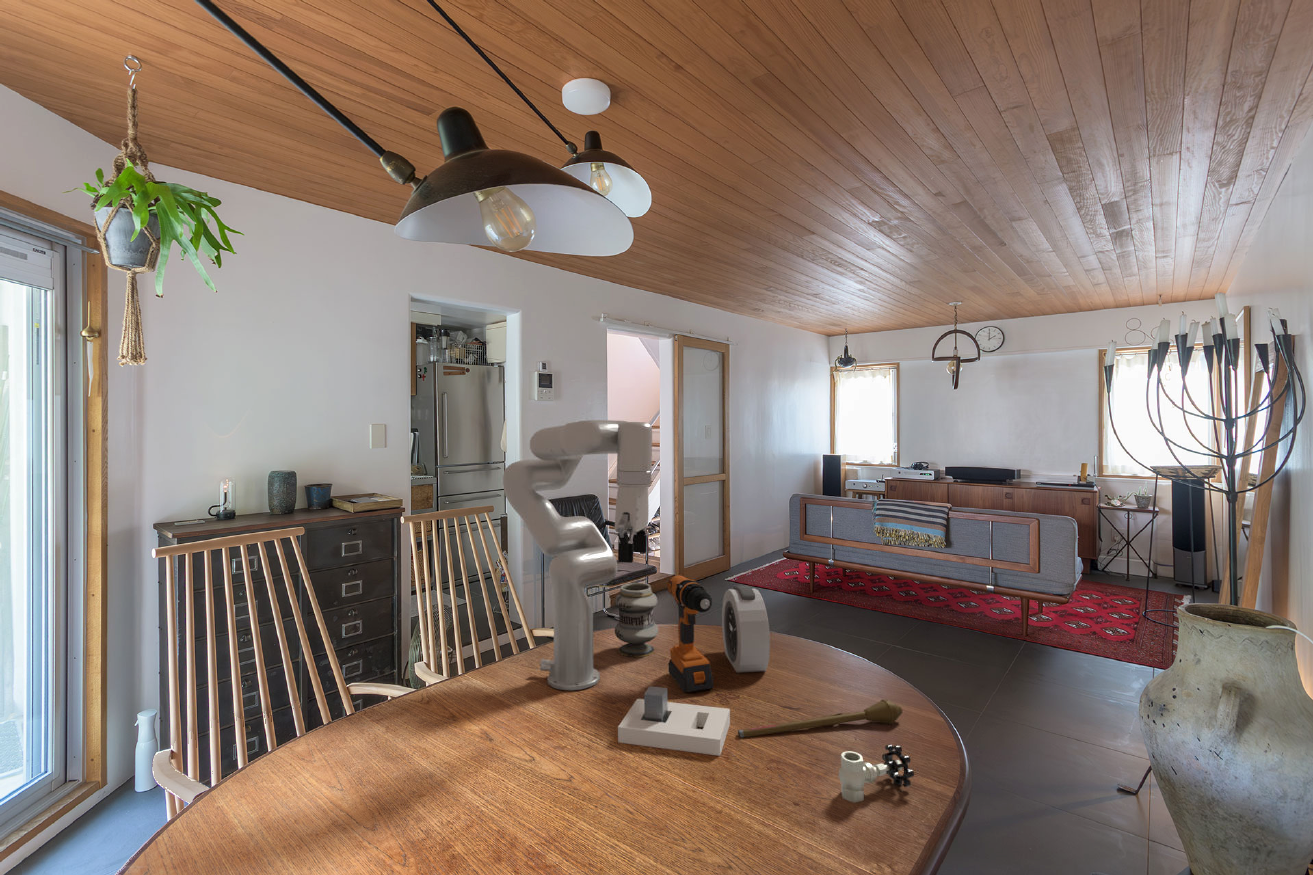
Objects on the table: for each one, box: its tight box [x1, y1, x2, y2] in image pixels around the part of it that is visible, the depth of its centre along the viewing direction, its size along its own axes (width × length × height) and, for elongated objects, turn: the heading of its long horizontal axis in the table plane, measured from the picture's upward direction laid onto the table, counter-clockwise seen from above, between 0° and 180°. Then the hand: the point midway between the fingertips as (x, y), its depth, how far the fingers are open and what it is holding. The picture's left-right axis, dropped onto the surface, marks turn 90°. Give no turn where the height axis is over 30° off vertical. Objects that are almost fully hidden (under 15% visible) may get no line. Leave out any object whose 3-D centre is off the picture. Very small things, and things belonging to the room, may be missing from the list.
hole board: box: [617, 698, 731, 757], centre depth 121 cm, size 20×13×3 cm, turn 75°
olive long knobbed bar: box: [737, 699, 903, 739], centre depth 122 cm, size 5×35×5 cm
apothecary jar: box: [614, 582, 659, 658], centre depth 167 cm, size 12×12×18 cm
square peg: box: [643, 685, 668, 723], centre depth 122 cm, size 4×4×8 cm
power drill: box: [667, 574, 714, 693], centre depth 143 cm, size 22×7×25 cm, turn 16°
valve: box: [838, 743, 915, 803], centre depth 101 cm, size 7×7×12 cm
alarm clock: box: [721, 584, 771, 674], centre depth 158 cm, size 21×8×20 cm, turn 6°
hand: (632, 556), depth 131 cm, fingers open, 9 cm apart
